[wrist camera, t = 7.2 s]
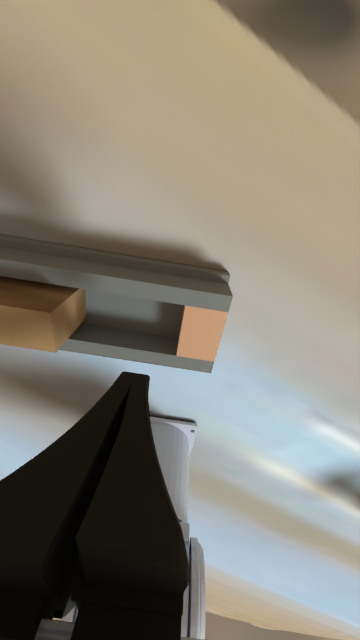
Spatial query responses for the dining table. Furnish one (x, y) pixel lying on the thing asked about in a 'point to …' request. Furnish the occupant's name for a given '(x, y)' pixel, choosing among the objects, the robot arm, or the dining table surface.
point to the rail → (131, 302)
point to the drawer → (39, 313)
